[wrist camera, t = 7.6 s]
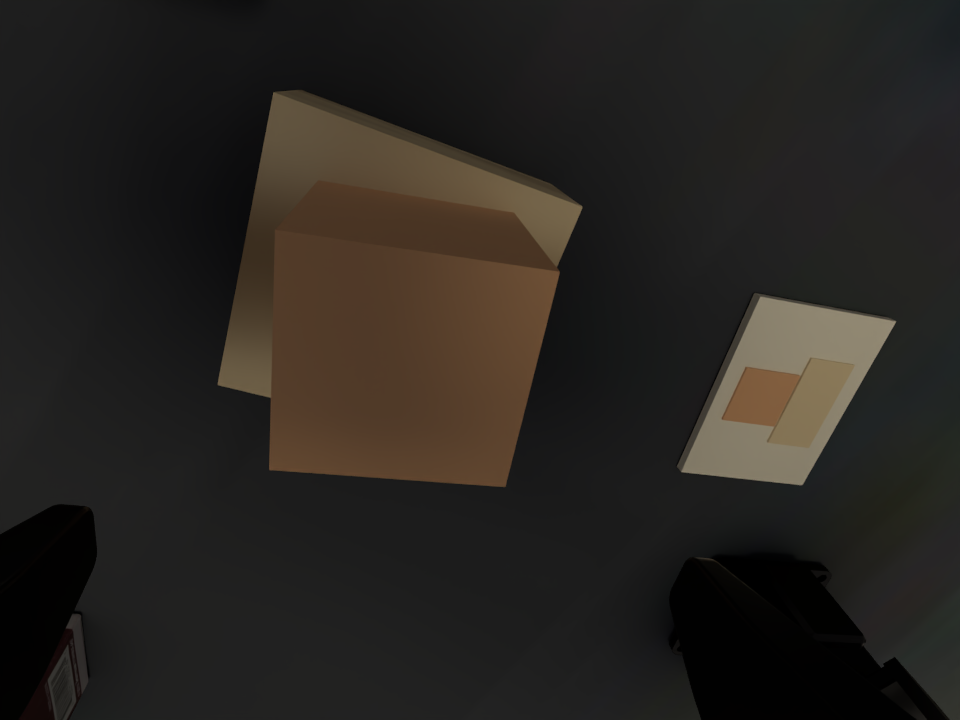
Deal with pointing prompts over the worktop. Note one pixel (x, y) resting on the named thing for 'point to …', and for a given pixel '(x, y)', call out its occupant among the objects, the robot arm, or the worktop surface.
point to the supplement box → (61, 678)
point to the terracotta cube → (403, 336)
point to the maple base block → (368, 164)
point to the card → (782, 389)
